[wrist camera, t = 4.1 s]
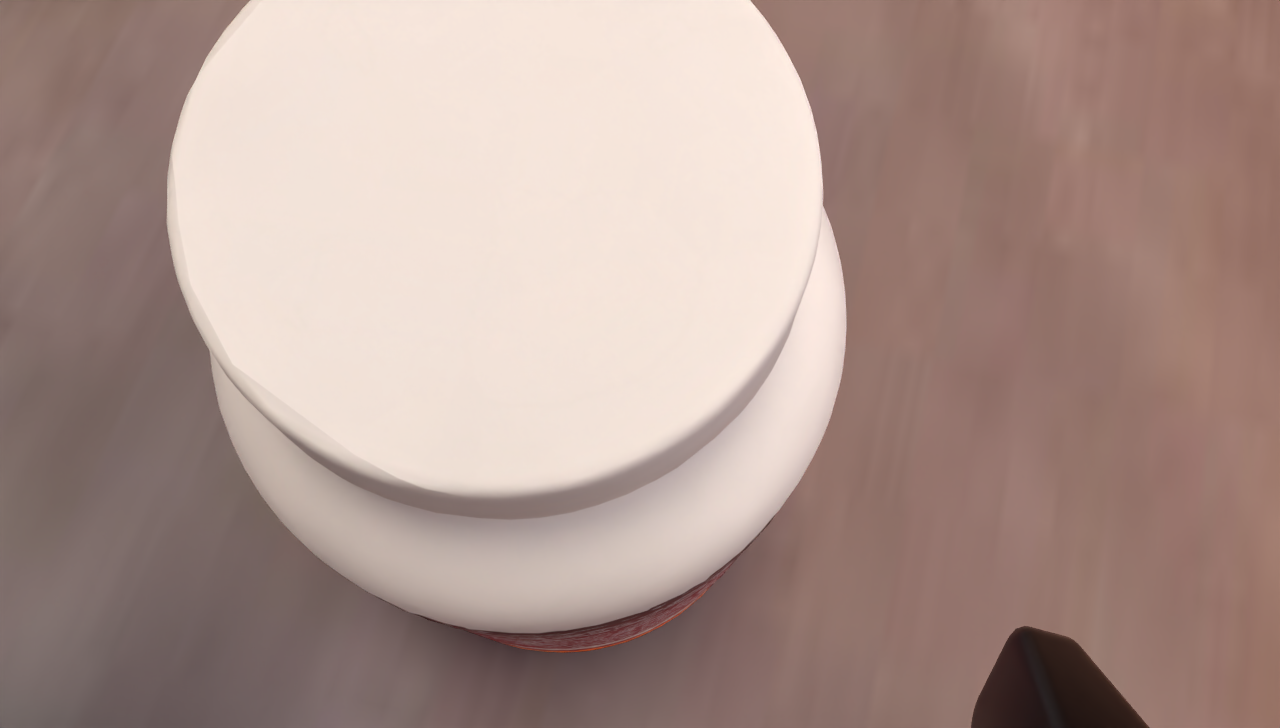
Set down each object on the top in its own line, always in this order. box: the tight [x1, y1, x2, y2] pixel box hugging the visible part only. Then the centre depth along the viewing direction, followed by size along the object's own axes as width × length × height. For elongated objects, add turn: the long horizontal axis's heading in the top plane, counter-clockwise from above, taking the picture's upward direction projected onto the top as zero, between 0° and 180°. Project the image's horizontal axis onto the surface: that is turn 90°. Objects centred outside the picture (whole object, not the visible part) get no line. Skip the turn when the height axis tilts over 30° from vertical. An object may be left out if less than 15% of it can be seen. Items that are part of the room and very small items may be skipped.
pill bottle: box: [167, 0, 847, 652], centre depth 13 cm, size 6×6×11 cm
